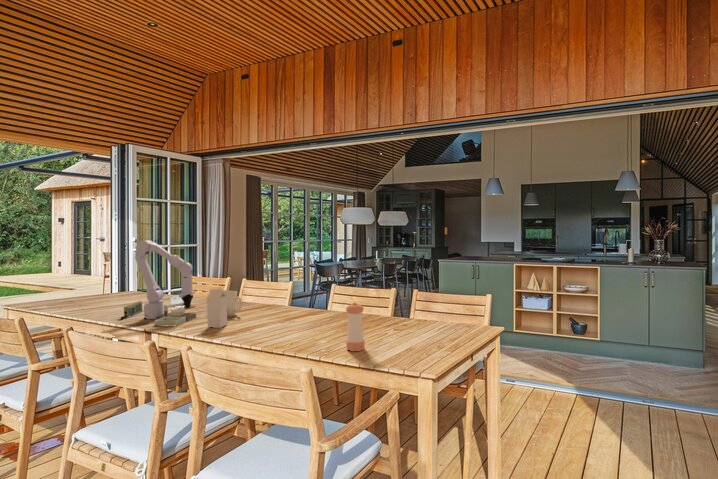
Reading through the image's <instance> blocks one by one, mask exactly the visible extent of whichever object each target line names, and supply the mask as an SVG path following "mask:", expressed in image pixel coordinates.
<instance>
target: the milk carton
mask: <svg viewBox="0 0 718 479" xmlns="http://www.w3.org/2000/svg"><path fill="white" fill-rule="evenodd" d="M223 290H224V289H223V288H222V289H220V288H217V289H216V288H211V289H209V293H208V294H207V297H206V310H207V311H206V314H207V316H206V317H207V328H210V327H213V328H214V329H215V328H216V329H221V328H222V327H225V326H227V325H228V316H227V300H226V295H225V293H224V292H223Z"/></svg>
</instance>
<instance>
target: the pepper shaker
mask: <svg viewBox="0 0 718 479" xmlns="http://www.w3.org/2000/svg"><path fill="white" fill-rule="evenodd" d="M345 310H346V311H345V312H346V313H347V316H348V317H347V320H348V321H347V331H346V337H347V338H346V351H347V350H350V351H360V352H362V351H361V350H363V351H365V349H366V348H365V344H366V343H365V340H364V328H363V318H362V317H363V316H362V315H363V314H362V313H363V312H364V307H363V305H361V304H359V303H357V302H353V303H352V304H349V305H347V307H346V309H345ZM350 351H349V352H350Z"/></svg>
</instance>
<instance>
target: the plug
mask: <svg viewBox="0 0 718 479" xmlns="http://www.w3.org/2000/svg"><path fill="white" fill-rule="evenodd" d="M169 313H170V314H171V316H182V315H184V313H186V309H185V307H175V308H174V307H173V308H171V309H170V312H169Z"/></svg>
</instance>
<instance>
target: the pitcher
mask: <svg viewBox="0 0 718 479" xmlns="http://www.w3.org/2000/svg"><path fill="white" fill-rule="evenodd" d="M223 292H224V293H225V295H226V300H227V317H232V316H235V315H236V314H237V312H240V310H242V307H243V301H242V298H241V297H240V296H238V291H237V290H236V291H235V290H225V289H223Z"/></svg>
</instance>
